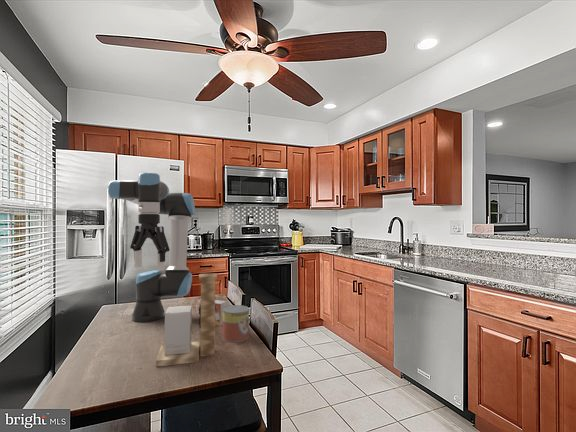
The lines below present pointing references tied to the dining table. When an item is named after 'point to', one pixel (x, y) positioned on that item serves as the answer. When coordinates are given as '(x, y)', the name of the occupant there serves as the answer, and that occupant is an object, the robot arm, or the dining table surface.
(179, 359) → the maple pad
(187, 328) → the supplement box
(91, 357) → the dining table surface
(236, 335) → the canned food
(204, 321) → the oak post
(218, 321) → the small box
